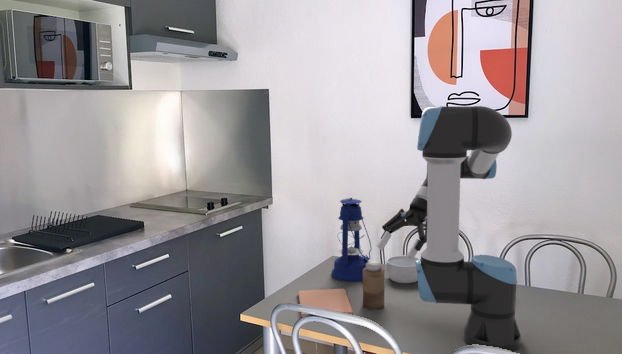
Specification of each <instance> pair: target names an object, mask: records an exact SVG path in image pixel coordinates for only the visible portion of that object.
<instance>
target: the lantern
mask: <svg viewBox="0 0 622 354" xmlns="http://www.w3.org/2000/svg"><path fill="white" fill-rule="evenodd" d="M339 202H340V203H341V205H342V206H341V207H340V212H339V217H338V220H339V221H340V220H341V221H342V224H341V225H340V227H339V229H340V230H341V232H338V233H337V235H339V234H340V233H341V234H342V239H341V240H340V238H339V237H337V238H338V241H339V242H340V244H341V246H342V247H341V249H340V250H338V252H339V254H341V256H339V257H337V258H336V259H334V262H333V265H334V266H333V269H332V270H331V277H332V278H333V279H334V280H337V281H340V282H346V283H355V282H356V283H357V282H363V269H364V268H366V263H368V262H369V260H371V252H372V243H371V239H370V237H369V234H368V230H367V228H366V225H365V222H364V216H363V213H362V212H363V211H362V207H361V205H360V204H361V203H362V200H360V199H356V198H353V197H348V198H342V199H341V200H340V201H339ZM360 221H362V224H363V227H364V230H365V232H366V235H367V238H368V241H369V247H370V250H369V252H368V255H369V256H368V255H364V254H363V253H364V250H363V249H361V248H362V246H361V244H360V242H361V241H360V239H362V238H364V237H365V236H366V235H365V234H364V235H361V236H360V231H361V230H363V227H362V225H361V224H360ZM349 232H351V234H352V235H350V234H349ZM349 236H350V237H352V238H353V239H354V241H353V242H351V243H348V242H349ZM341 241H342V242H341ZM349 245H351V246H349ZM353 245H354V246H353Z"/></svg>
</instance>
